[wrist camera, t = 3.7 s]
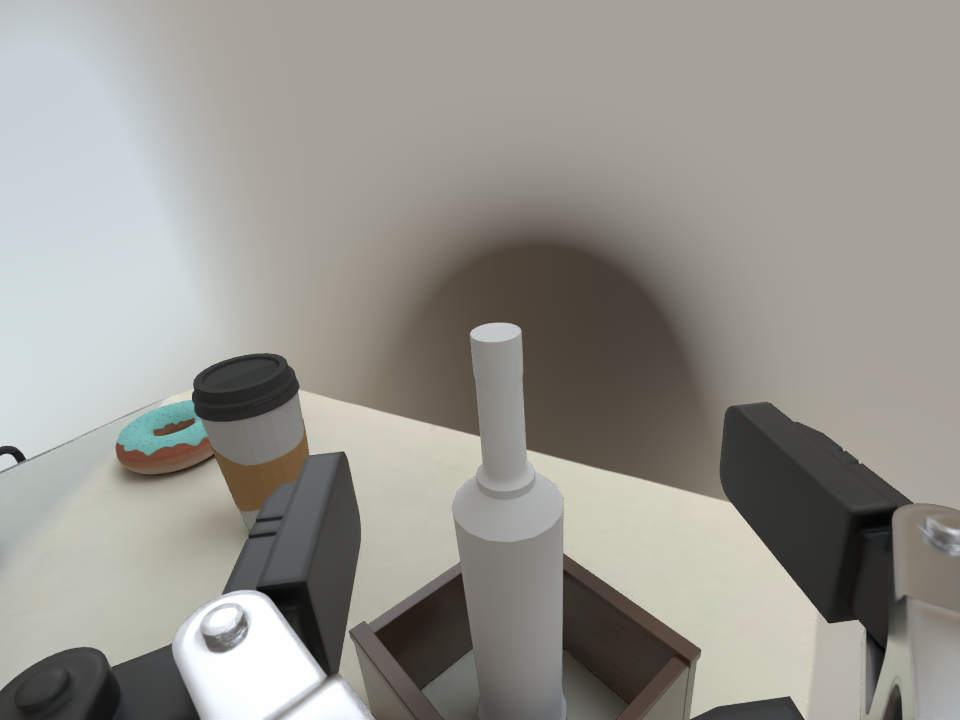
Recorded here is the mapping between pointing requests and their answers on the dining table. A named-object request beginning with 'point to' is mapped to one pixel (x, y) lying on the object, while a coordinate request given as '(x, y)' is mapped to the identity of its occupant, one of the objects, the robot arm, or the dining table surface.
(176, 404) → the donut
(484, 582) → the bottle
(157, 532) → the dining table surface
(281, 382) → the coffee cup
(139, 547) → the dining table surface
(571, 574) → the crate
